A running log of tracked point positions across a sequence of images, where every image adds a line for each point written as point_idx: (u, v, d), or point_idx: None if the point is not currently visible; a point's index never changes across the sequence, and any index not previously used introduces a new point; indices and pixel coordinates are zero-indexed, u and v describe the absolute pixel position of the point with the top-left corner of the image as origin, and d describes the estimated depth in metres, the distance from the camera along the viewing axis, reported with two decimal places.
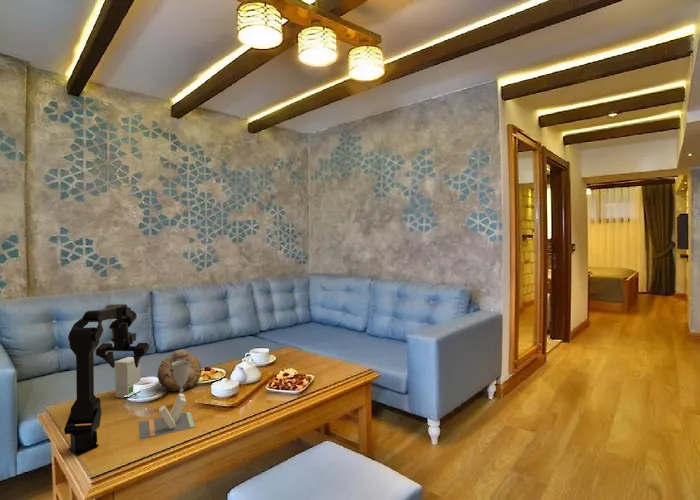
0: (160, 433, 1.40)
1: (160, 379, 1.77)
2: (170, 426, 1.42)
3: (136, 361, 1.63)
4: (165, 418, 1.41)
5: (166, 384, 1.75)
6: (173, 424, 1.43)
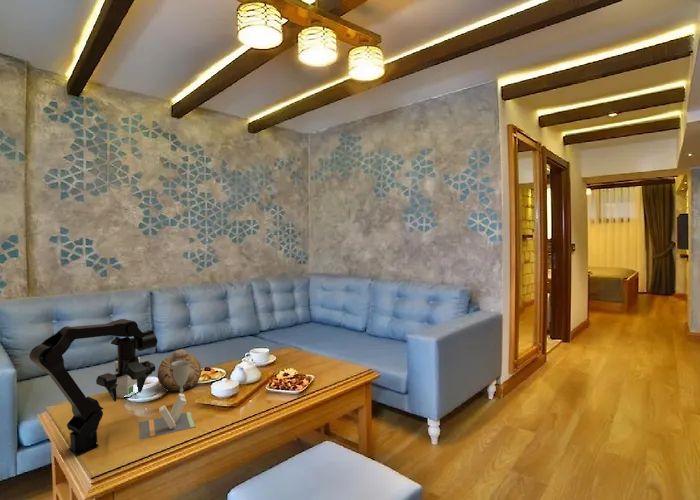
0: (160, 433, 1.40)
1: (160, 379, 1.77)
2: (170, 426, 1.42)
3: None
4: (165, 418, 1.41)
5: (166, 384, 1.75)
6: (173, 424, 1.43)
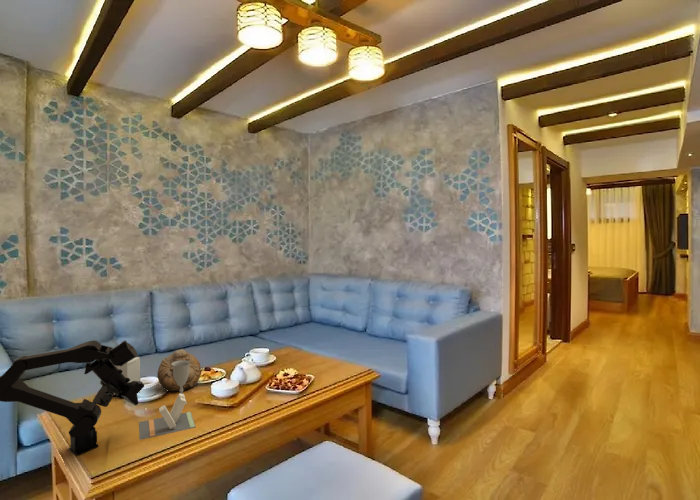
0: (160, 433, 1.40)
1: (160, 379, 1.77)
2: (170, 426, 1.42)
3: None
4: (165, 418, 1.41)
5: (166, 384, 1.75)
6: (173, 424, 1.43)
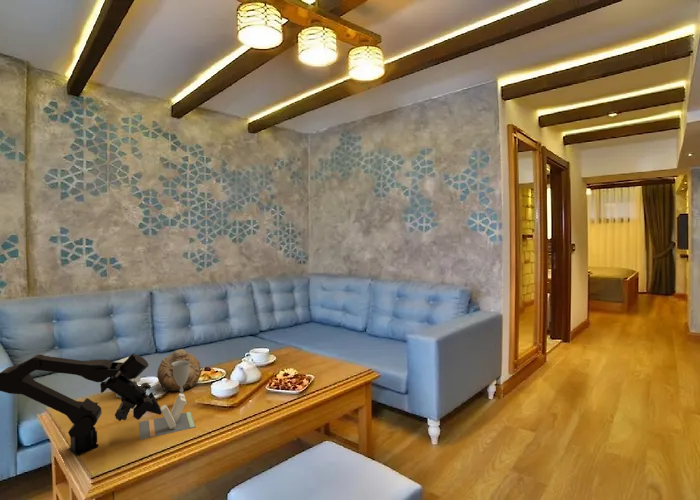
0: (160, 433, 1.40)
1: (160, 379, 1.77)
2: (170, 426, 1.42)
3: (156, 401, 1.42)
4: (166, 417, 1.41)
5: (166, 384, 1.75)
6: (173, 424, 1.43)
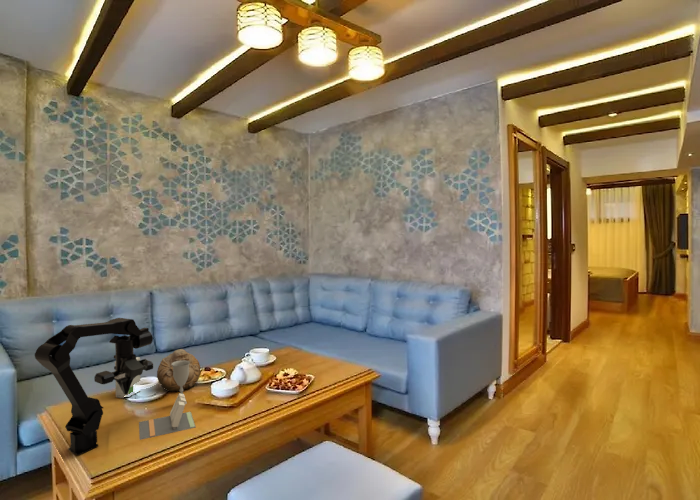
0: (160, 433, 1.40)
1: (159, 379, 1.77)
2: (174, 424, 1.43)
3: None
4: (177, 414, 1.43)
5: (165, 384, 1.75)
6: (177, 424, 1.43)
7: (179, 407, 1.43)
